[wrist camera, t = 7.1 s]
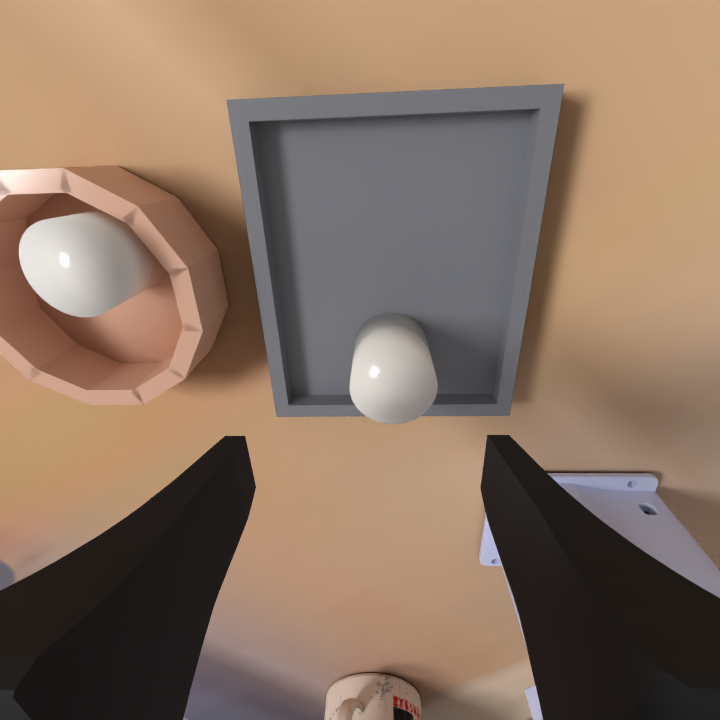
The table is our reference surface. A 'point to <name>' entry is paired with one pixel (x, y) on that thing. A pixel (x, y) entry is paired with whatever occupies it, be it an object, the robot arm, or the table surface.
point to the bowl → (124, 322)
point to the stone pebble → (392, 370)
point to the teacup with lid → (372, 699)
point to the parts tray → (395, 233)
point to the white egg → (87, 262)
